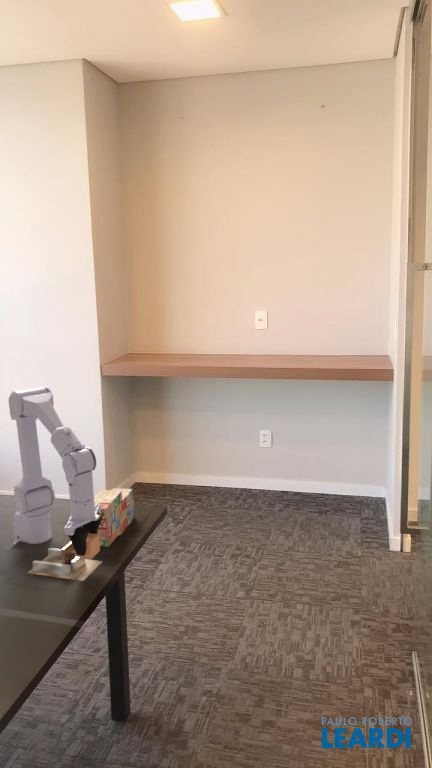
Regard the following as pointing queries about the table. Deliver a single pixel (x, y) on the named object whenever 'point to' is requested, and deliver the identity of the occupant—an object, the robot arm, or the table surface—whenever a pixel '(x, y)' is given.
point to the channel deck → (62, 567)
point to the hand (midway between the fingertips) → (85, 550)
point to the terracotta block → (91, 546)
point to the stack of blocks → (114, 513)
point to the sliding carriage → (71, 557)
